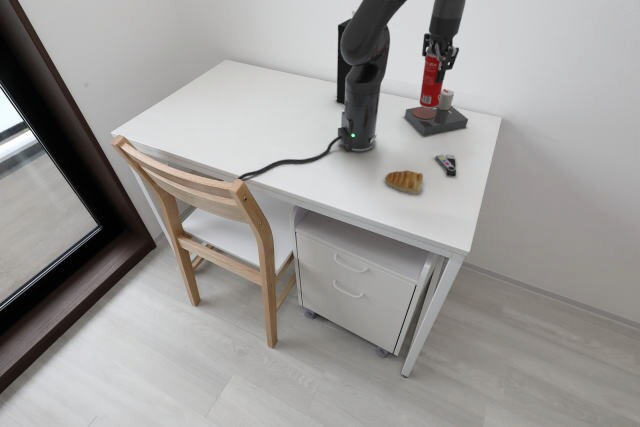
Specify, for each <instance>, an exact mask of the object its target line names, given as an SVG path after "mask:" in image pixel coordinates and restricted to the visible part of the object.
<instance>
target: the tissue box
mask: <svg viewBox="0 0 640 427" xmlns="http://www.w3.org/2000/svg"><path fill="white" fill-rule="evenodd" d="M355 12H356V11H355V10H351V14H352V15H351V16H352V17H353V16H354V14H355ZM352 17H351V18H349V19H346V20H344V21H343V22H341V23H339V24H338V25H337V62H336V63H337V64H336V65H337V66H336V69H337V70H336V71H337V72H336V102H337V103H340V104H344V105H345V82H346V76H347V74H348V73H349V72H350V70H351V69H352V67H353V66H352V65H350V64H348V63H347V62H346V61H345V60H344V58H343V56H342V53H341V38H342V35H343V32H344V30H345V28H346V27H347V25H348V24H349V22H350V20H351V19H352Z"/></svg>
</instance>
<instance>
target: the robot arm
mask: <svg viewBox="0 0 640 427" xmlns="http://www.w3.org/2000/svg"><path fill="white" fill-rule="evenodd" d="M407 1H408V0H362V1H361V2H360V4H359V6H358V7H357V9H356V11H355V14H354V16H352V17H351V20H350V22H349V24H348V25H347V27H346V28H345V30H344V32H343V35H342V38H341V53H342V56H343V58H344V60H345V61H346V62H347V63H348V64H350V65H352V66H353V67H352V69H351V70H350V72H349V73H348V74H347V76H346V82H345V104H344V108H343V110H344V111H341V117H340V118H341V120H340V121H341V122H340V127H338V128H337V137H335V138H334V139H333V140H331V142H329V144H328V145H327V148H326V149H325V150H324V151H323V152H322V153H320V154H319V155H315V156H312V157H308V158H302V159H297V158H295V159H291V158H288V159H287V158H285V159H280V160H277V161H274V162H272V163H270V164H268V165H265V166H264V167H262V168H260V169H258V170H254V171H249V172H246V173H243V174H241V175H240V176H239V177H238V178H237V179H241V181H242V180H243V179H245V178H247V177H250V176H255V175H259V174H260V173H264V172H266V171H267V170H269V169H271V168H273V167H275V166H278V165H281V164H285V163H286V164H287V163H296V164H302V163H308V162H313V161H316V160H319V159H321V158H323V157H325V156H326V155H328V154H329V152H330V151H331V149H332V147H333V146H334V144H336V143H337V142H338V141H340V142H341V143H342V145H343V146H344V148H345V150H346V151H347V152H357V153H361V152H362V153H363V152H368V151H371V150H372V149H373V148H374V146H375V143H376V138H377V134H376V131H377V130H376V129H377V121H378V114H379V105H380V96H381V95H380V94H381V88H382V82H383V80H384V78H385V76H386V72H387V71H386V70H387V67H388V66H387V65H388V60H389V56H390V55H389V53H390V48H391V47H390V46H391V33H390V29H389V26H388V24H389V22H390V21H391V20H392V18H393V17H394V16H395V15H396V13H397V12H398V11H399V10H400V8H402V7H403V6H404V5H405V4H406V2H407ZM466 1H467V0H434V1H433V6H432V7H433V8H432V10H431V11H432V12H431V16H430V17H431V18H430V23H429V26H428V32H426V33H424V34H423V41H422V42H423V43H422V49H421V56H422V57H424V60H425V59H426V57H427V54H428V53H431V51H432V53H433V54H436V57H437V58H436V60H437V61H438V62H439V63H438V70H437V74H436V79H435V83H442V82H443V83H444V80H445V76H446V72H447V71H450V70H453V68H454V65H455V62H456V59H457V57H458V54H459V52H460V47H458V46H456V47H455V46H454V45H453V44H454V38H455V36H457V35H458V33H459V30H460V27H461V22H462V20H463V19H462V18H463V14H464V11H465V8H466V7H465V6H466ZM444 55H446V57H444V58H441V56H444ZM443 60H444V64H443V65H442V61H443Z"/></svg>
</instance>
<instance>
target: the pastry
mask: <svg viewBox="0 0 640 427" xmlns="http://www.w3.org/2000/svg"><path fill="white" fill-rule="evenodd" d="M423 178H424V174H423V173H422V172H416V171H411V170H407V169H406V170H402V171H399V170H396V171H392V172H389V173H388V174H386V176H385V177H384V180H385V182H386V184H387V186H389V187H390V188H392V189H395V190H397V191H399V192H403V193H406V194H407V193H408V194H410V195H419V194H420V193H421V191H422V185H423V182H424V179H423Z"/></svg>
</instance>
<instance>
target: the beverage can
mask: <svg viewBox="0 0 640 427" xmlns="http://www.w3.org/2000/svg"><path fill="white" fill-rule="evenodd" d="M444 57H446V55H444V56H441V58H444ZM436 58H437V57H436V54H433V53H432V51H431V53H428V54H427V57H426V59H425V58H424V68H423V74H422V83H421V90H420V96H419V105H420V107H421V106H423V107H425V108H434V107H437V106H438V105H439V101H440V96H441V91H442V90H443V84H444V81H443V82H442V83H435V79H436V74H437V70H438V63H439V62H438V61H437V60H436ZM443 64H444V60H443V61H442V65H443Z"/></svg>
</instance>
